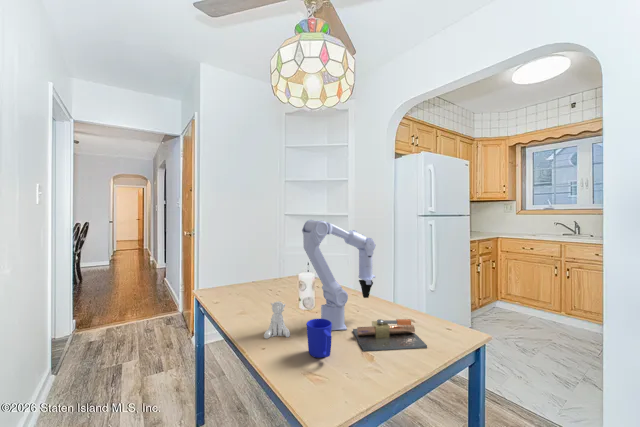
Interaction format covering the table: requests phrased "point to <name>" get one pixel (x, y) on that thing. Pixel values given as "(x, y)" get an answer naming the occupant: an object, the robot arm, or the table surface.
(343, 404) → the table surface
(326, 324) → the mug
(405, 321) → the valve lever
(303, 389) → the table surface
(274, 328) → the sitting furry creature
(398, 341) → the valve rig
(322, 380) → the table surface
